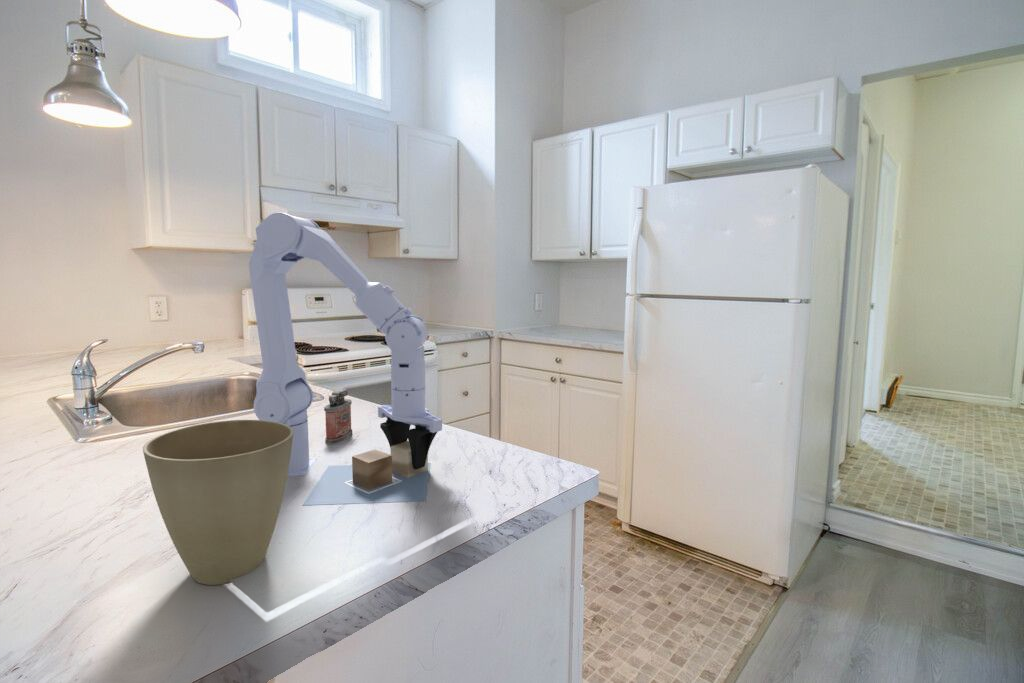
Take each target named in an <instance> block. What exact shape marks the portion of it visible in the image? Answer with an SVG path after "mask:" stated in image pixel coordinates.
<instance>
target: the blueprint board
mask: <svg viewBox="0 0 1024 683" xmlns="http://www.w3.org/2000/svg"><path fill="white" fill-rule="evenodd" d="M431 465H432V464H431V462H428V470H427V471H425V472H422V473H419V474H417V475H414V476H411V477H409V478H407V477H405V476H402V475H399V474H397V473H394V472H392V482H390V483H387V484H385V485H382V486H379V487H377V488H374V489H371V490H368V489H366V488H363V487H361V486H359V485H357V484H354V483H353V473H352V464H350V465H349V464H348V465H347V464H345V465H343V464H342V465H341V464H340V465H328V466H327V467H326V469H325V470H324V472H323V473H322V475H321V476H320V478H319V479H318V481H317V482H316V484H315V485H314V487H313V489H312V490H311V492H310V493H309V495H308V496H307V498H306V499H305V501H304V502H303V503H302V507H303V506H325V505H326V506H330V505H331V506H332V505H355V504H356V505H357V504H358V505H359V504H381V503H382V504H384V503H388V504H389V503H408V502H409V503H412V502H413V503H415V502H427V494H428V487H429V480H430V479H429V478H430V474H431V472H430V471H431Z"/></svg>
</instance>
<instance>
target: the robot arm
mask: <svg viewBox="0 0 1024 683" xmlns="http://www.w3.org/2000/svg"><path fill="white" fill-rule="evenodd" d="M255 233H256V240H255V244H254V247H253V250H252V251H251V252H252V253H251V256H250V258H249V261H248V269H249V276H250V277H249V278H250V285H251V292H252V298H253V304H254V313H255V318H256V320H255V321H256V326H257V333H258V339H259V340H258V341H259V348H260V352H261V353H260V354H261V361H262V368H263V369H262V371H261V373H260V375H259V377H258V378H257V380H256V383H255V387H256V394H255V398H254V400H253V411H254V413H255V414H254V415H255V416H256V417H257V420H265V421H273V422H279V423H283V424H286V425H288V426H290V427H291V428H292V429H293V440H292V448H291V456H290V463H289V470H288V475H287V477H289V476H292V477H293V476H304V475H306V474H307V472H309V471H310V469H311V467H312V466H313V465H314V463H315V462H316V461H317V459H316V458H310V448H309V447H310V446H309V445H310V443H309V422H308V421H309V420H308V418H309V416H308V409H309V408H310V407H311V406H312V403H313V400H314V393H313V389H312V388H311V386H310V384H309V383H308V381H307V378H306V377H307V376H306V373H305V370H304V369H303V368H302V367H301V366H300V365H299V364H298V360H297V354H296V353H297V351H296V344H295V336H294V330H293V322H292V314H291V307H290V301H289V293H288V285H287V284H288V283H287V277H286V275H287V273H288V272H290V270H291V269H292V268H293V267H294V266H295V265H296V264H297V263H298V261H299V262H300V261H301V260H303V259H305V258H307V259H310V260H313V261H317V262H319V263H320V264H322V266H324V267H325V268H326V269H327V270H328V271H329V272H330V273H331V274H332V275H334V277H336V279H338V280H339V281H340V282H341V283H342V284H343V285H344V286H345V287H346V288H347V289H348V290H349V291H351V292H352V293H353V294H354V295H355V296H354V297H355V307H356V308H357V309H358V310H359V311H360V312H361V314H363V315H364V316H365V318H367V319H368V320H369V321H370V322H371V323H372V324H373V325H374V326H375V327H376V329H378V330H379V331H380V332H381V334H384V335H385V336H384V338H385V342H386V345H387V347H388V348H389V349H390V353H391V354H390V356H391V357H390V358H391V361H390V378H391V379H390V380H391V382H390V383H391V384H390V385H391V386H390V387H391V388H390V392H391V396H390V397H391V405H390V404H384V405H380V406H377V416H378V418H381V419H384V418H386V420H385V422H381V423H380V425H379V426H380V429H381V430H382V432H383V433H384V435H385V437H386V439H387V442H388V445H389V447H390V446H393V445H396V444H399V443H403V442H406V441H409V444H410V448H411V457H412V465H413V469H419V468H422V467H425V463H426V459H427V455H428V456H429V451H430V448H431V445H432V444H433V441H434V439H435V437H436V436H437V433H438V432H441V431H443V419H442V418H440V417H437V416H435V415H433V414H432V413H430V408H427V407H426V360H425V346H424V344H425V343H426V341H427V340H428V334H429V333H428V332H429V331H428V328H427V325H426V323H425V322H424V320H423V318H421V317H420V316H417V315H414V314H413V313H414V312H413V310H412V309H411V308H410V307H407V308H406V307H405V306H404V304H402V303H401V302H400V301H399V300H398V298H397V297H396V296H395V295H394V294H393V293H394V291H395V290H394V289H393V288H392V287H391V286H390V285H384V284H383V283H381V282H371V281H370V280H369V278H368V277H366V275H365V274H364V273H363V272H362V271H361V270H360V268H359V267H358V266H357V265H356V264H355V263H354V262H353V261H352V260H351V258H350V257H349V256H348V255H347V254H346V253H345V252H344V251H343V249H342V248H341V247H340V246H339V245H338V244H337V242H335V241H334V239H333V238H332V237H331V235H330V234H329V233H328V232H326V230H323V229H322V228H320V226H319V225H318V224H317V223H316V222H315V221H314V220H312V219H309V218H305V217H303V218H302V217H298V216H294V215H291V214H288V213H285V212H280V211H279V212H274V213H271V214H269V215H267V217H265V219H264V220H262V221H261V222H260V223H259V224H258V225H257V227H255ZM412 314H413V315H412ZM412 426H414V428H411V427H412Z"/></svg>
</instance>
